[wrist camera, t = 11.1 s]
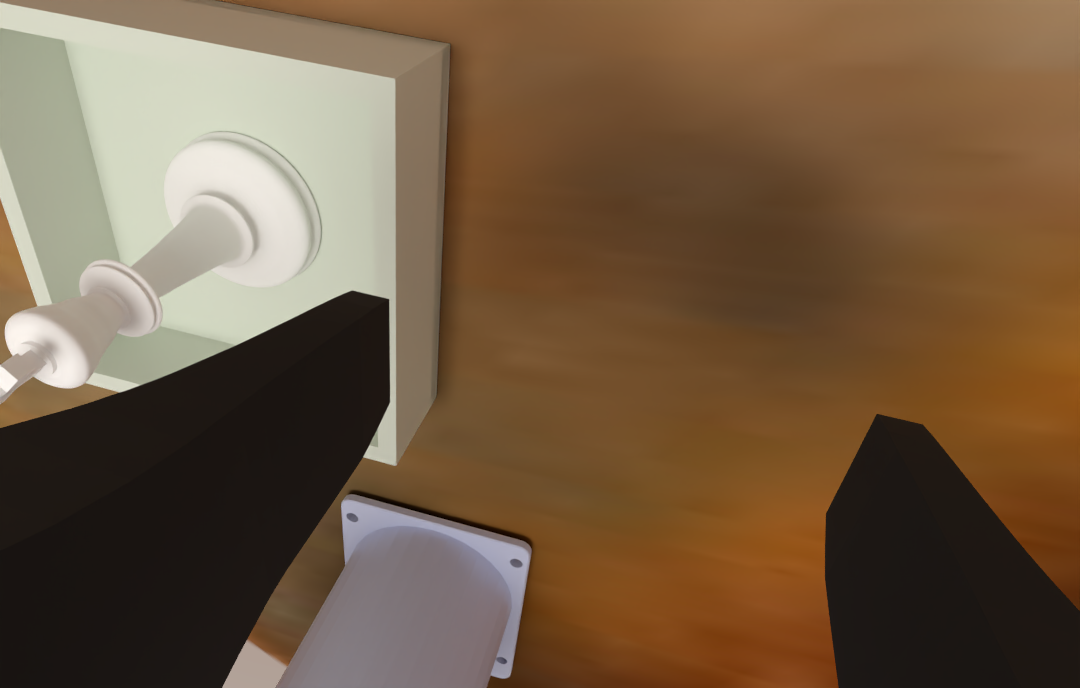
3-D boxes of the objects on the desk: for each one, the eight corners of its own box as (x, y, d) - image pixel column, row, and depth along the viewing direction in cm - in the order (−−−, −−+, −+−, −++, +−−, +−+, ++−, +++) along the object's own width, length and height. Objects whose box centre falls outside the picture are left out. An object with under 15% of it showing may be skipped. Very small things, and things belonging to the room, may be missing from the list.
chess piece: (148, 191, 23) (-176, 372, 15) (229, 96, 21) (-109, 253, 12) (263, 304, 25) (24, 525, 16) (352, 229, 22) (121, 446, 14)
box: (436, 396, 26) (396, 465, 23) (135, 321, 27) (61, 376, 24) (450, 43, 19) (395, 78, 16) (45, -31, 20) (-73, -12, 18)
